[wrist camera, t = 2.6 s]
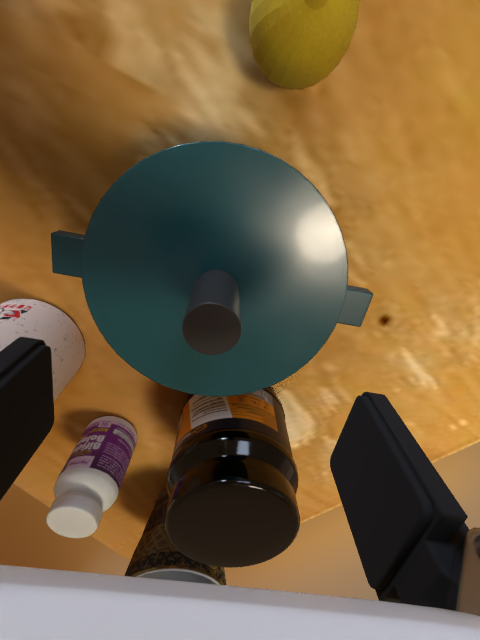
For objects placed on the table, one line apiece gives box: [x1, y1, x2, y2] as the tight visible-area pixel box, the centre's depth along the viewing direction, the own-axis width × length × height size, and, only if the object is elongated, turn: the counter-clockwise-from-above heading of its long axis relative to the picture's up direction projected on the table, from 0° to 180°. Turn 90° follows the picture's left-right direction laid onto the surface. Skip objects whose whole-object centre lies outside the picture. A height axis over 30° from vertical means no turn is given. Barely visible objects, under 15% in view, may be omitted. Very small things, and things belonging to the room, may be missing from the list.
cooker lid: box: [81, 141, 348, 396], centre depth 17 cm, size 15×15×6 cm
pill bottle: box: [46, 416, 137, 538], centre depth 30 cm, size 5×5×10 cm
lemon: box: [249, 0, 359, 90], centre depth 17 cm, size 6×6×8 cm
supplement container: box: [165, 387, 300, 567], centre depth 28 cm, size 10×10×12 cm
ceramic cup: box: [125, 489, 226, 585], centre depth 34 cm, size 13×10×10 cm
